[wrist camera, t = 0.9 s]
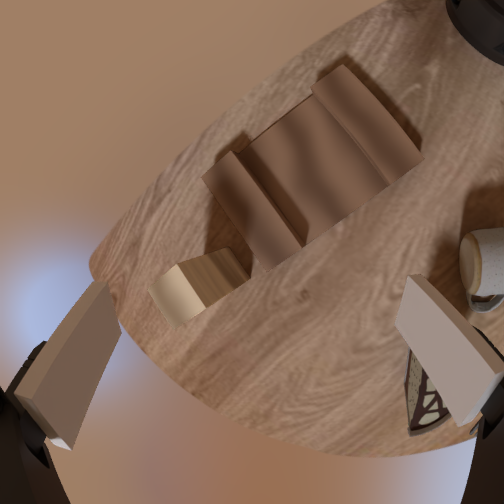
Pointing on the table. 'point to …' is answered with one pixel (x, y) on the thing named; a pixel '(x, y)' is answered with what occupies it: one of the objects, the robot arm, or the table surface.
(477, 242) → the ceramic mug
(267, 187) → the cradle
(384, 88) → the table surface
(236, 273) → the tall wooden block
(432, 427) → the food container
